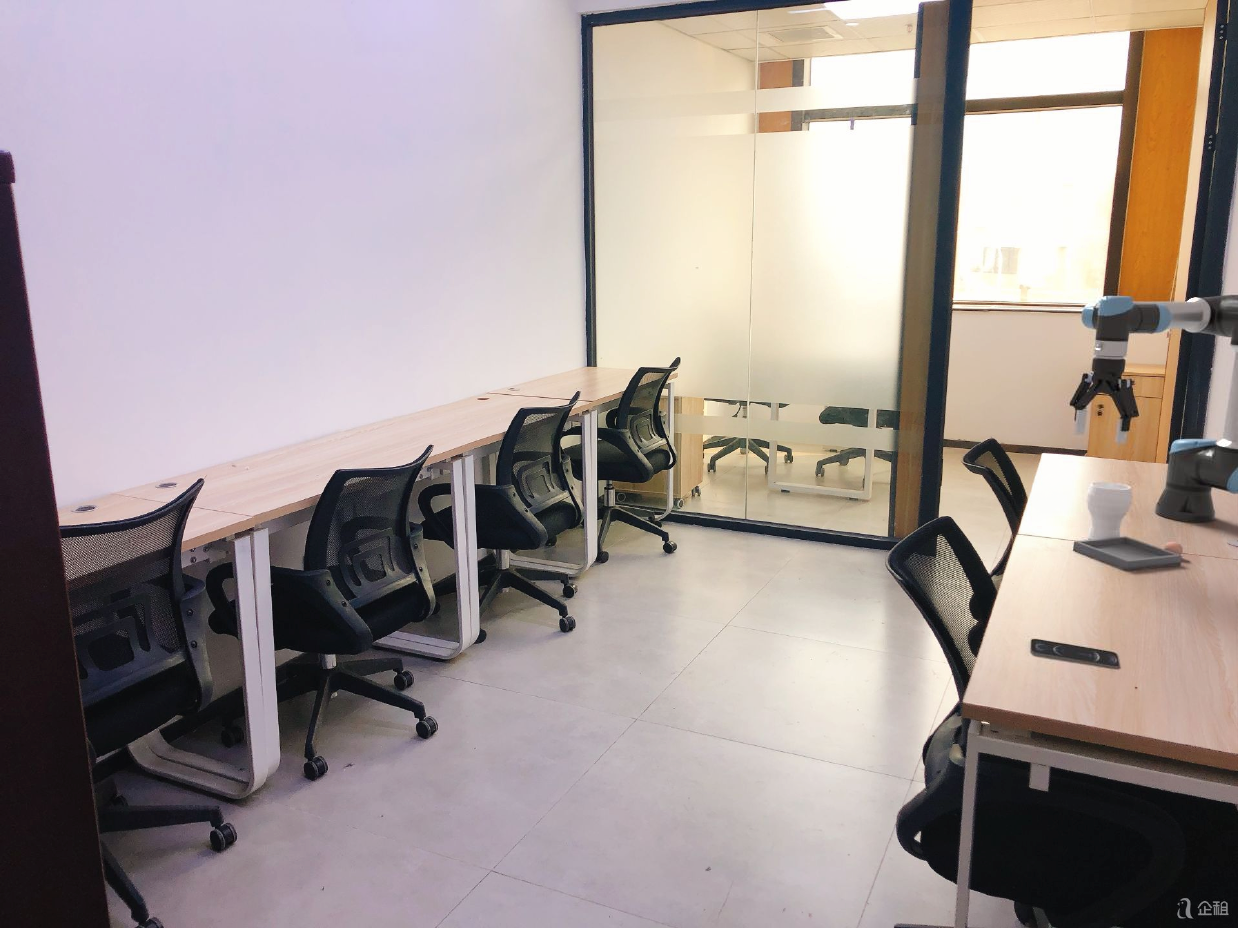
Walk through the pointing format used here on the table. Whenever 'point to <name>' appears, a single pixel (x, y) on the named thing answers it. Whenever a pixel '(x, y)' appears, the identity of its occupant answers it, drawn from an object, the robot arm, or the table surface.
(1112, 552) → the tray
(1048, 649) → the smartphone
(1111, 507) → the cup
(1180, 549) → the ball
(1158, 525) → the table surface
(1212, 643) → the table surface
